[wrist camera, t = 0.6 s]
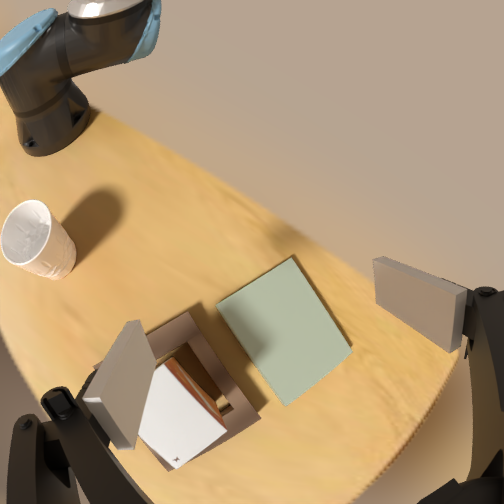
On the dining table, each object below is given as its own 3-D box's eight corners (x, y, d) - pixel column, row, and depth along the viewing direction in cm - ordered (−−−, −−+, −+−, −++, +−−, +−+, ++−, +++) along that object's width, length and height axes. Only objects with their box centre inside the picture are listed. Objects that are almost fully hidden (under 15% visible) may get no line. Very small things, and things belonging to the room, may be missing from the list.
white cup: (53, 222, 34) (24, 190, 25) (90, 245, 34) (63, 215, 25) (28, 267, 31) (-9, 245, 22) (63, 294, 32) (27, 278, 22)
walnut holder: (99, 364, 30) (93, 366, 28) (188, 313, 35) (187, 311, 32) (169, 464, 28) (168, 471, 25) (256, 413, 32) (261, 418, 30)
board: (215, 305, 36) (216, 304, 34) (287, 260, 40) (291, 257, 39) (282, 404, 33) (286, 406, 32) (347, 351, 38) (352, 351, 36)
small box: (216, 401, 32) (230, 431, 20) (180, 430, 30) (176, 472, 18) (173, 354, 33) (163, 361, 21) (136, 383, 31) (109, 404, 18)
